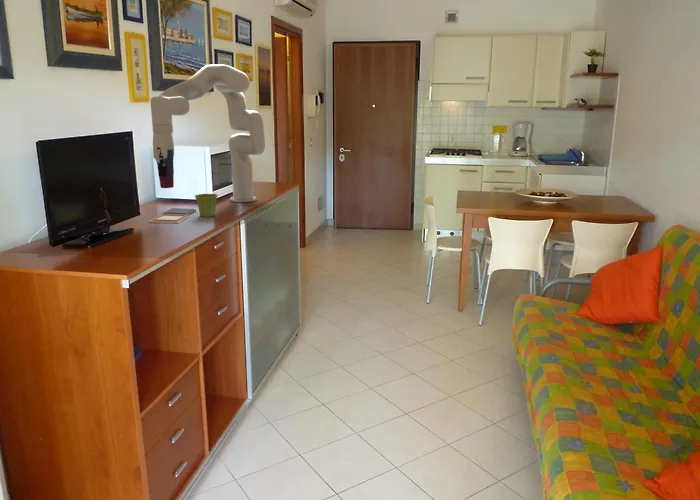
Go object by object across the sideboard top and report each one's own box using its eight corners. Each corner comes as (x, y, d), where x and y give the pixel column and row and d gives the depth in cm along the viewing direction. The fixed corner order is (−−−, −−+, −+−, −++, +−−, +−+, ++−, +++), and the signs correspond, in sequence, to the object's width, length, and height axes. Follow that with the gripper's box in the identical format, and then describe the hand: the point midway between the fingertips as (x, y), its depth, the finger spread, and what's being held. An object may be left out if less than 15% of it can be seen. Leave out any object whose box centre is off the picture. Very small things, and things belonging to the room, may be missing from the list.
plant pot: (196, 213, 242) (194, 193, 239) (218, 213, 244) (217, 193, 242) (195, 218, 233) (194, 197, 231) (219, 217, 235) (218, 196, 233)
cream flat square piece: (161, 216, 237) (161, 213, 236) (189, 217, 235) (189, 214, 235) (149, 222, 225) (148, 219, 225) (178, 223, 224) (177, 220, 224)
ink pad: (172, 210, 248) (171, 207, 247) (196, 211, 247) (196, 208, 246) (161, 215, 237) (161, 212, 237) (186, 216, 236) (186, 213, 236)
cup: (178, 186, 230) (175, 148, 226) (171, 188, 223) (168, 150, 219) (162, 185, 230) (159, 148, 226) (155, 188, 224) (152, 150, 220)
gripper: (162, 127, 229) (166, 172, 234) (143, 130, 213) (147, 178, 217) (180, 128, 228) (183, 172, 233) (162, 130, 212) (166, 178, 217)
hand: (166, 174), depth 225 cm, fingers closed on cup, 6 cm apart
